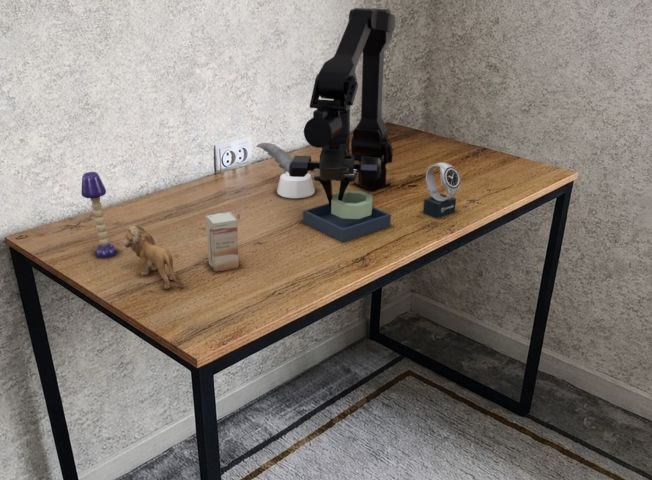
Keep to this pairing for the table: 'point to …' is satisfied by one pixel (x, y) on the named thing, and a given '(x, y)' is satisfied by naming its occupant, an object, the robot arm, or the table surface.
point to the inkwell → (288, 184)
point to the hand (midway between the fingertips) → (335, 206)
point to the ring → (352, 205)
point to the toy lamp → (97, 211)
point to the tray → (345, 222)
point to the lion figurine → (150, 253)
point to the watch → (440, 202)
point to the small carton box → (222, 241)
